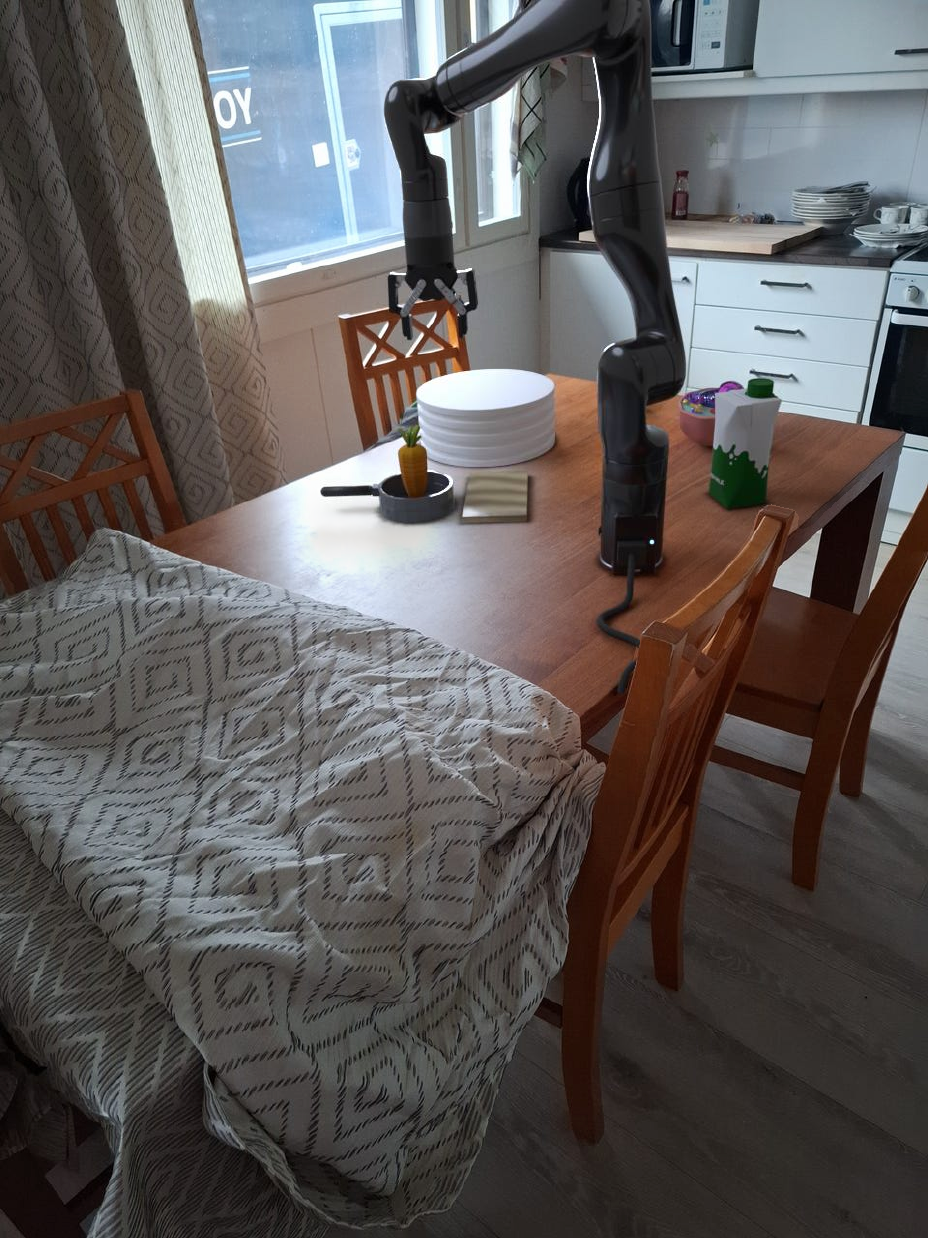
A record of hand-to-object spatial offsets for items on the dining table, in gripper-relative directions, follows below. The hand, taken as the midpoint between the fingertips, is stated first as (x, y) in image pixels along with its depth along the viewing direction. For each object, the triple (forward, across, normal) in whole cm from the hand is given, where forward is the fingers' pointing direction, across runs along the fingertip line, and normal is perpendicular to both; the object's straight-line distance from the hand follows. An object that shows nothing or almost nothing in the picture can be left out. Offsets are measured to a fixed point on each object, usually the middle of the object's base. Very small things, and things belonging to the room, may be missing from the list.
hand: (436, 338), depth 141 cm
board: (+28, +9, -1) cm, 30 cm away
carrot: (+28, -5, -4) cm, 29 cm away
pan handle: (+26, -17, -4) cm, 31 cm away
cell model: (+29, +52, +25) cm, 64 cm away
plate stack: (+29, +5, +29) cm, 41 cm away
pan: (+28, -5, -4) cm, 29 cm away
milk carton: (+28, +50, -3) cm, 58 cm away
